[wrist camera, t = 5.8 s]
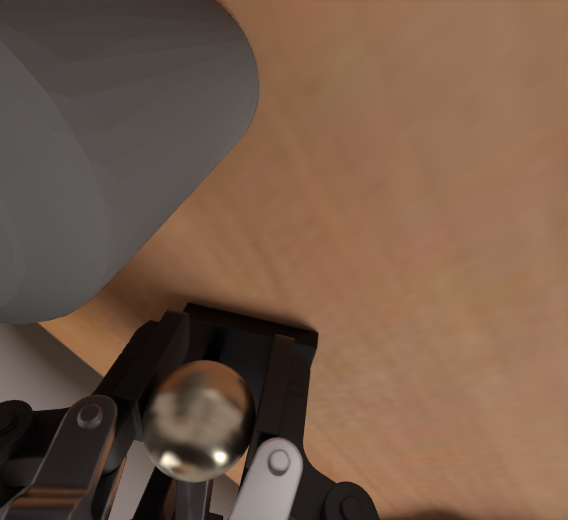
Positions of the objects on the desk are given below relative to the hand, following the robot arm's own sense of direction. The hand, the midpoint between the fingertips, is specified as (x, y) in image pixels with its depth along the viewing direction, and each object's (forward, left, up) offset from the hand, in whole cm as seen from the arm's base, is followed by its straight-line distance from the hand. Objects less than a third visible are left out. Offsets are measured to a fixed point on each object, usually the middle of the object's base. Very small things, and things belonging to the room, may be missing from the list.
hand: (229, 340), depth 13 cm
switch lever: (+5, 0, +2) cm, 5 cm away
